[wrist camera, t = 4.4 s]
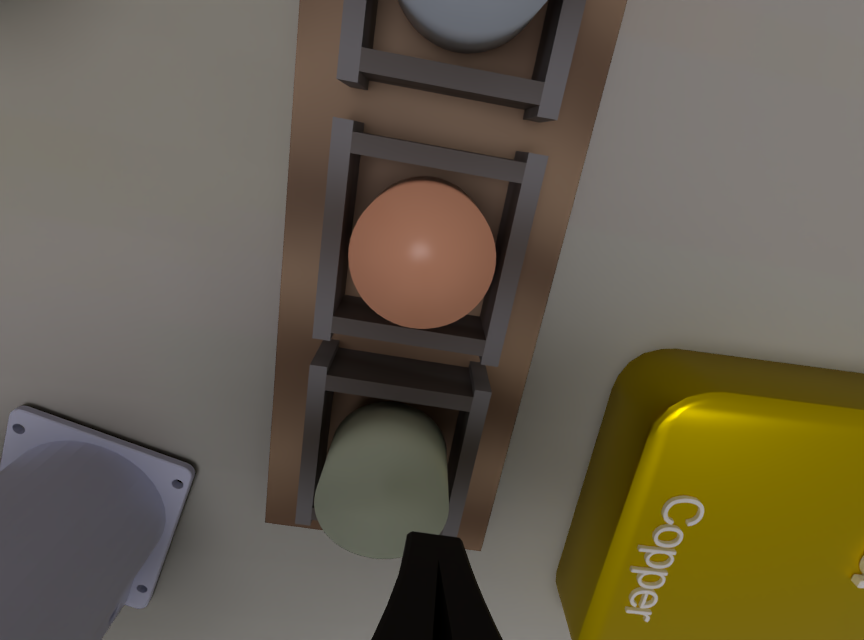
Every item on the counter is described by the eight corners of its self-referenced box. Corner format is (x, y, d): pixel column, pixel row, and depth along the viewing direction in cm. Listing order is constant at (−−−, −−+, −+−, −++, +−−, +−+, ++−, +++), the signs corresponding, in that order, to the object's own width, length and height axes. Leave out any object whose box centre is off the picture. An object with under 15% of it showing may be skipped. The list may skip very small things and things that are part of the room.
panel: (478, 531, 24) (489, 622, 19) (273, 503, 23) (235, 591, 19) (670, -209, 14) (779, -368, 10) (330, -288, 14) (280, -496, 9)
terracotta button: (472, 307, 18) (479, 338, 15) (355, 289, 18) (340, 316, 15) (497, 188, 17) (510, 198, 14) (370, 165, 17) (357, 171, 14)
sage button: (435, 505, 20) (436, 566, 17) (326, 490, 19) (308, 550, 17) (455, 411, 18) (460, 461, 15) (337, 393, 18) (320, 441, 15)
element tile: (622, 338, 21) (674, 393, 16) (952, 381, 22) (1088, 445, 17) (545, 595, 26) (568, 691, 22) (813, 624, 27) (889, 721, 22)
